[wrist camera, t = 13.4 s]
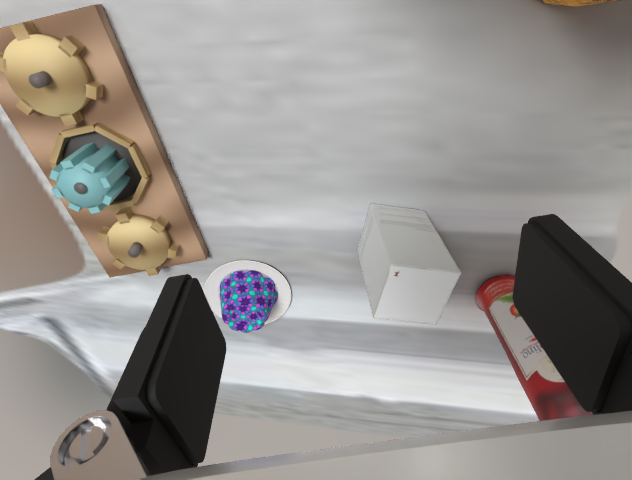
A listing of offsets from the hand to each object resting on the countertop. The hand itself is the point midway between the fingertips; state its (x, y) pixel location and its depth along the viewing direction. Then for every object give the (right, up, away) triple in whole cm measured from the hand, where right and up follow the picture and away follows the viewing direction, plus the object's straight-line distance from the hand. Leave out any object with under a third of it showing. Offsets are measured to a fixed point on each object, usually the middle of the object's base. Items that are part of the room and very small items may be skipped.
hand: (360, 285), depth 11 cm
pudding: (-11, -6, +43) cm, 45 cm away
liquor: (+24, -6, +44) cm, 51 cm away
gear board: (-24, +10, +32) cm, 41 cm away
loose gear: (-24, +9, +30) cm, 40 cm away
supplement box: (+8, +3, +38) cm, 39 cm away
